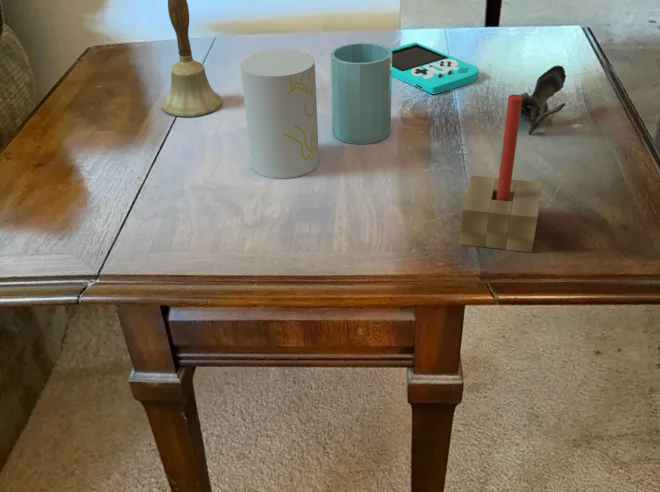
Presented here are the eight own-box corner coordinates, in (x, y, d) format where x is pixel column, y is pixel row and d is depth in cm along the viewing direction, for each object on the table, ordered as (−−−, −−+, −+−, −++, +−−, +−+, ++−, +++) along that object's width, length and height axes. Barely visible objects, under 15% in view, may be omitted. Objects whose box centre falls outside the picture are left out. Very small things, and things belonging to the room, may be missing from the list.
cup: (304, 182, 87) (298, 79, 79) (239, 173, 89) (228, 72, 82) (328, 151, 93) (325, 52, 85) (267, 143, 95) (258, 47, 88)
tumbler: (395, 122, 99) (397, 44, 92) (383, 146, 93) (384, 65, 87) (341, 118, 100) (339, 41, 94) (326, 141, 95) (323, 61, 89)
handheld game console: (431, 96, 105) (432, 86, 104) (363, 63, 116) (362, 54, 115) (486, 78, 109) (487, 69, 108) (414, 49, 120) (415, 40, 119)
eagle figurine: (579, 129, 92) (577, 87, 98) (554, 84, 88) (553, 43, 94) (520, 154, 96) (522, 113, 102) (494, 112, 93) (497, 72, 98)
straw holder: (536, 216, 79) (541, 182, 77) (532, 253, 74) (537, 217, 71) (468, 209, 81) (471, 175, 78) (459, 244, 76) (462, 209, 73)
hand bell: (229, 110, 104) (215, -13, 94) (169, 121, 102) (148, -4, 92) (214, 89, 110) (199, -29, 100) (157, 99, 108) (136, -21, 98)
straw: (505, 227, 78) (522, 94, 69) (504, 234, 77) (521, 99, 68) (493, 226, 78) (509, 93, 69) (492, 232, 77) (508, 98, 68)
